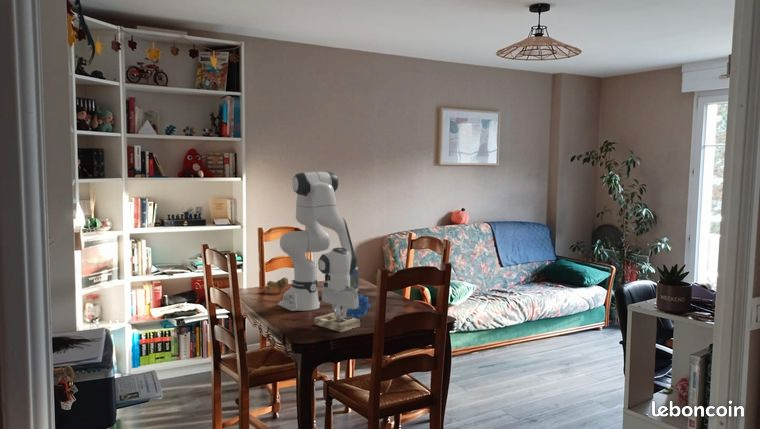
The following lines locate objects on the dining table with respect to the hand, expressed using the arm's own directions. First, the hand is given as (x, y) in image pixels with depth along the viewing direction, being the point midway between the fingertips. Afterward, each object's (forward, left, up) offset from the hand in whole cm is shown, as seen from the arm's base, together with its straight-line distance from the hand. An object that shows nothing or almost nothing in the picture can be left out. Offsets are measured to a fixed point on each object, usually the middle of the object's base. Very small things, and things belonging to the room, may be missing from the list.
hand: (339, 315), depth 250 cm
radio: (-42, +44, -6) cm, 61 cm away
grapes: (-4, +15, -6) cm, 17 cm away
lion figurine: (-71, +21, -6) cm, 75 cm away
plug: (0, 0, -5) cm, 5 cm away
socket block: (-3, +1, -6) cm, 7 cm away
